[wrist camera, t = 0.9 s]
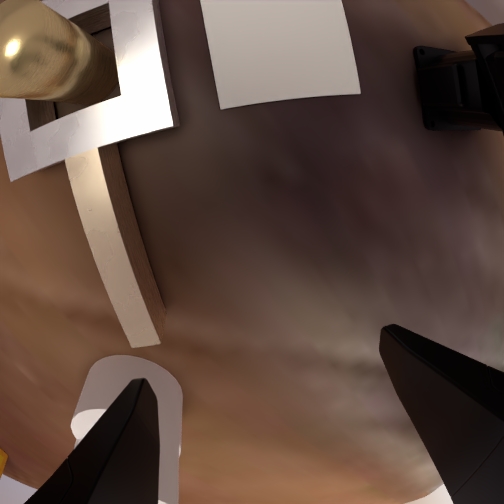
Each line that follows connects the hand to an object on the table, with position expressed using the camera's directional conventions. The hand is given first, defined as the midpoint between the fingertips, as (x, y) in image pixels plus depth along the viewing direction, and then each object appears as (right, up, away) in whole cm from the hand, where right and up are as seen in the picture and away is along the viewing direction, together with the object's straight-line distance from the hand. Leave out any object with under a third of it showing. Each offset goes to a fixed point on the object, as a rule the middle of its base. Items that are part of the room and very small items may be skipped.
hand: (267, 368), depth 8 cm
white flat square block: (+1, +17, +7) cm, 18 cm away
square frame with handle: (-9, +9, +9) cm, 15 cm away
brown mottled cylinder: (-10, +14, +7) cm, 19 cm away
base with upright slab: (-11, -9, +17) cm, 22 cm away
